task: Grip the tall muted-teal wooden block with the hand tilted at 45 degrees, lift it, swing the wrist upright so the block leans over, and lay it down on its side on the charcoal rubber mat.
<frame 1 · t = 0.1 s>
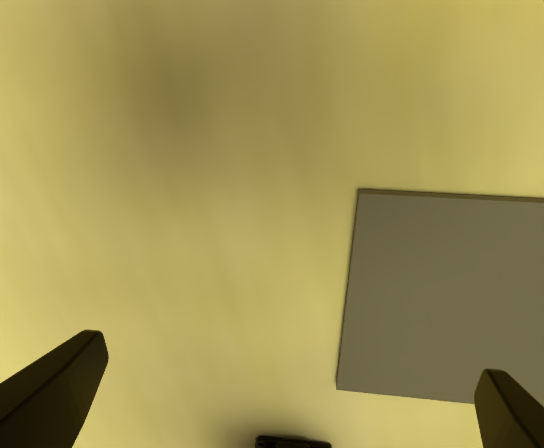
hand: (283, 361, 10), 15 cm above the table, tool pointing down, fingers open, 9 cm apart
rubber mat: (464, 309, 26), on the table
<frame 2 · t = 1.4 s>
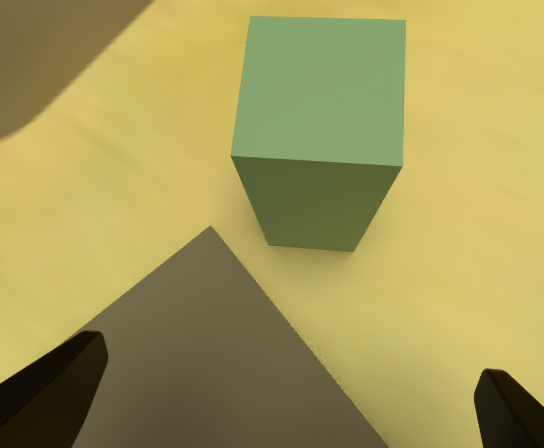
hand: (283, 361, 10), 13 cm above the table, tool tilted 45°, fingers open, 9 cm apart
rubber mat: (190, 424, 22), on the table
teal block: (313, 207, 24), on the table
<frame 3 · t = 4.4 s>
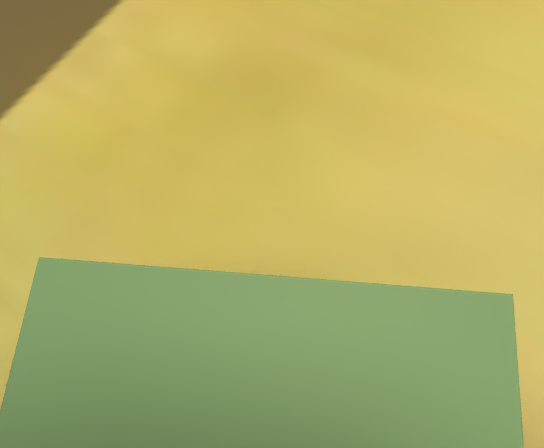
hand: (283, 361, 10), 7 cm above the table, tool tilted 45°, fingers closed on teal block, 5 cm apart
teal block: (289, 391, 16), on the table, touching gripper
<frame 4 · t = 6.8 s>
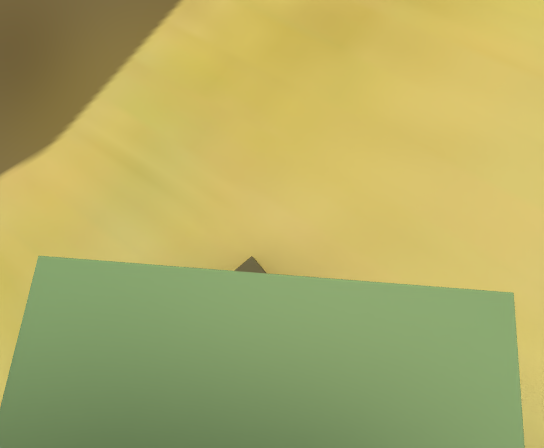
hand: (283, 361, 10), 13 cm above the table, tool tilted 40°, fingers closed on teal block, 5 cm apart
teal block: (289, 390, 16), point 7 cm above the table, touching gripper
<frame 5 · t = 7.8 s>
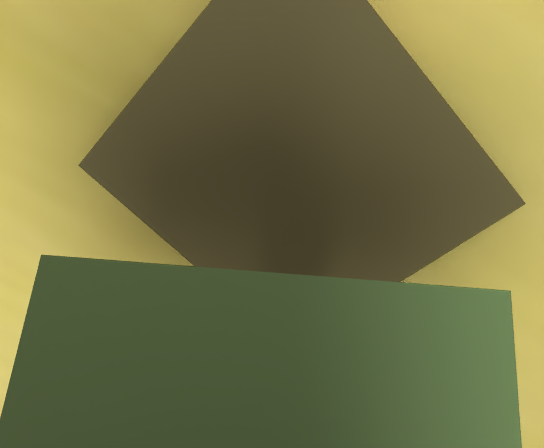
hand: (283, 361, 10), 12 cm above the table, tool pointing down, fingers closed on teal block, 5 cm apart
rubber mat: (291, 179, 20), on the table
teal block: (289, 389, 16), point 8 cm above the table, tilted 44°, touching gripper
when the fingers open (7 cm above the table, at t = 9.1 s): teal block moves 2 cm and tips over, resting on rubber mat.
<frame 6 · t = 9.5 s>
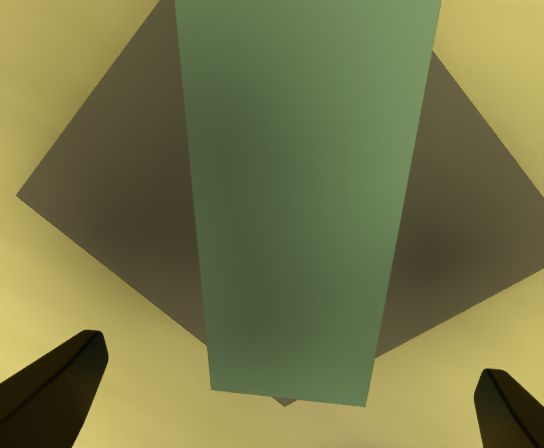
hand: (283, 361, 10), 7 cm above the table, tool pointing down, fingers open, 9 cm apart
rubber mat: (283, 213, 16), on the table
teal block: (292, 341, 15), point 3 cm above the table, tilted 90°, touching rubber mat
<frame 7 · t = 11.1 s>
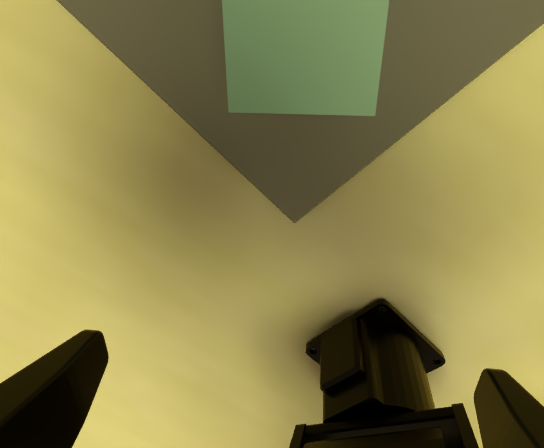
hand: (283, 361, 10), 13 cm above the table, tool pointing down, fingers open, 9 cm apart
teal block: (303, 97, 16), point 3 cm above the table, tilted 90°, touching rubber mat
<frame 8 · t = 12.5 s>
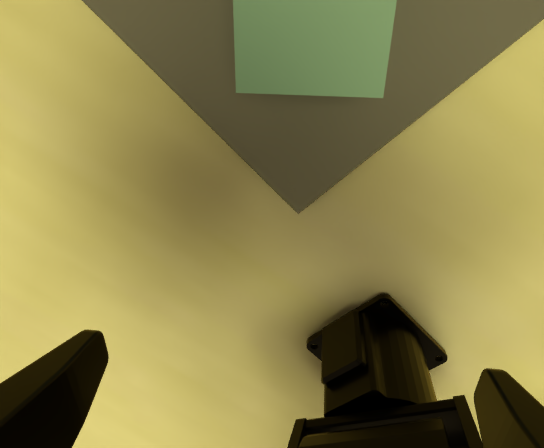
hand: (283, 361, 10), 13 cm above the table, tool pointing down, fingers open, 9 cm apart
teal block: (310, 82, 16), point 3 cm above the table, tilted 90°, touching rubber mat
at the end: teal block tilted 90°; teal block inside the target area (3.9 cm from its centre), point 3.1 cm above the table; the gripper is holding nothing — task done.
